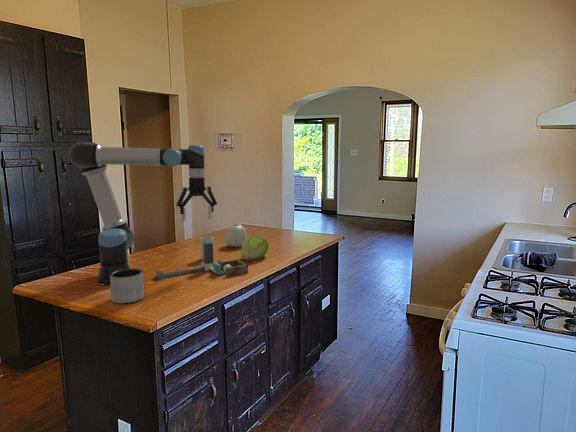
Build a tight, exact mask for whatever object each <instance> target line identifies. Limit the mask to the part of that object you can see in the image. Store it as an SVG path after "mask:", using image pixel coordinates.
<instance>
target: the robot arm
mask: <svg viewBox="0 0 576 432" xmlns="http://www.w3.org/2000/svg"><path fill="white" fill-rule="evenodd" d="M68 159H69V160H70V162H71V163H72V165H74V166H75V167H77V168H79V170H80V172H81V173H80V174H81V175H82V176H85V177H86V179H87V182H88V185H89V188H90V190H91V193H92V196H93V198H94V201H95V204H96V206H97V208H98V209H97V210H98V212H99V214H100V218H101V221H102V224H103V226H102V229H101V230H102V231H101V232H100V233H99V234H98V239H97V240H98V241H97V243H98V249H99V262H100V264H99V265H100V268H99V270H98V275H97V277H96V278H97V281H96V282H97V284H98V283H100V284H104V285H110V273H112V272H114V271H117V270H121V269H131V267H130V265H129V258H128V250H130V248H131V247H132V245H133V244H134V240H135V235H134V232H133V230H132V229H131V228H130V226H129V223H128V222H127V220H124V219H123V217H122V215H121V212H120V209H119V205H118V203H117V201H116V198H115V195H114V192H113V189H112V186H111V183H110V180H109V178H108V175H107V172H106V171H107V169H108V165H113V166H114V165H115V166H116V165H120V166H121V165H126V166H162V167H163V166H166V167H167V166H169V167H176V166H181V165H183V166H185V165H186V166H188V177H189V178H188V187H185V186H183V187H182V191H181V194H180V196H179V198H178V200H177V202H176V205H175V206H176V207H178V208H179V210H180V211H179V213H180V215H181V216H182V218H181V221H183V222H186V221H187V219H186V216H187V215H186V214H187V213H186V211H187V210H186V207H185V206H186V205H187V204H188V203H189V201H190V200H191V198H192V197H201V196H202V198H203V199H204V200H205V201H206V203H207V204H208V209H207V210H208V211H207V212H208V215H207V216H208V219H209V220H213V214H212V213H214V207H215V206H216V205H218V202H217V200H216V198H215V197H214V194H213V192H212V187H211V186H205V183H206V182H205V178H204V177H205V147H204V146H203V145H197V144H196V145H195V144H193V145H191V144H189V145H188V148H186V149H185V148H184V149H182V148H181V149H180V148H151V147H148V148H147V147H117V146H116V147H113V146H110V147H109V146H101V144H97V143H95V142H92V141H79V142H76V143H74V144H73V145H71V146H70V149H69V150H68ZM205 191H206V192H207V194H208V196H209V197H208V196H207V195H206V193H205ZM187 192H189V193H188V194H187ZM186 194H187V195H186ZM185 196H186V197H185ZM100 284H99V285H100ZM104 285H103V286H104Z"/></svg>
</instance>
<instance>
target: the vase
mask: <svg viewBox="0 0 576 432" xmlns="http://www.w3.org/2000/svg"><path fill="white" fill-rule="evenodd" d="M224 239H225V241H224V242H225V243H226V245H227V246H228V247H231V248H242V245H243V243H244V242H245V241H246V240H247V239H249V237H248V233H247V229H246V228H245V227H244V226H243V225H242V224H232V225H230V226H229V227H228V228H227V230H226V231H225V238H224Z"/></svg>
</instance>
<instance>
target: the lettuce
mask: <svg viewBox="0 0 576 432" xmlns="http://www.w3.org/2000/svg"><path fill="white" fill-rule="evenodd" d="M240 248H241V249H240V256H241V258H242V259H244V260H252V261H253V260H260V259H261V258H262V257H264V256H265V255H266V254H267V252H268V250H269V243H268V240H267V238H265V236H262V235H259V234H258V235H257V234H255V235H253V236H251V237H248V239H247V240H246V241H245V242H244V243H243V245H242V247H240Z"/></svg>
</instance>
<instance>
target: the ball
mask: <svg viewBox="0 0 576 432" xmlns="http://www.w3.org/2000/svg"><path fill="white" fill-rule="evenodd" d="M229 267H231V266H230V265H228V264H227V265H225V266H224V267H223V270H222V271H224V273H226V268H229Z"/></svg>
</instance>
